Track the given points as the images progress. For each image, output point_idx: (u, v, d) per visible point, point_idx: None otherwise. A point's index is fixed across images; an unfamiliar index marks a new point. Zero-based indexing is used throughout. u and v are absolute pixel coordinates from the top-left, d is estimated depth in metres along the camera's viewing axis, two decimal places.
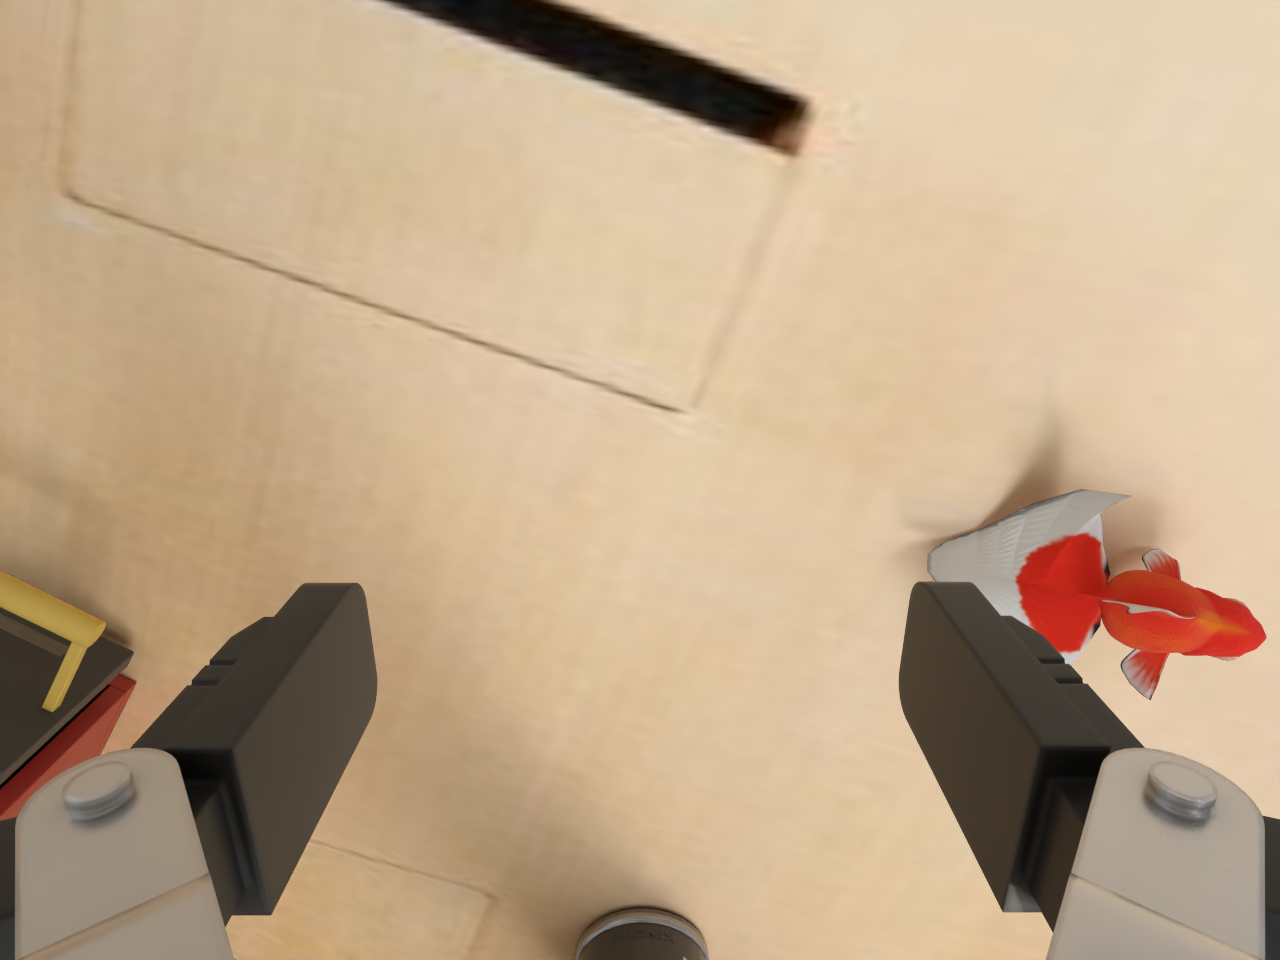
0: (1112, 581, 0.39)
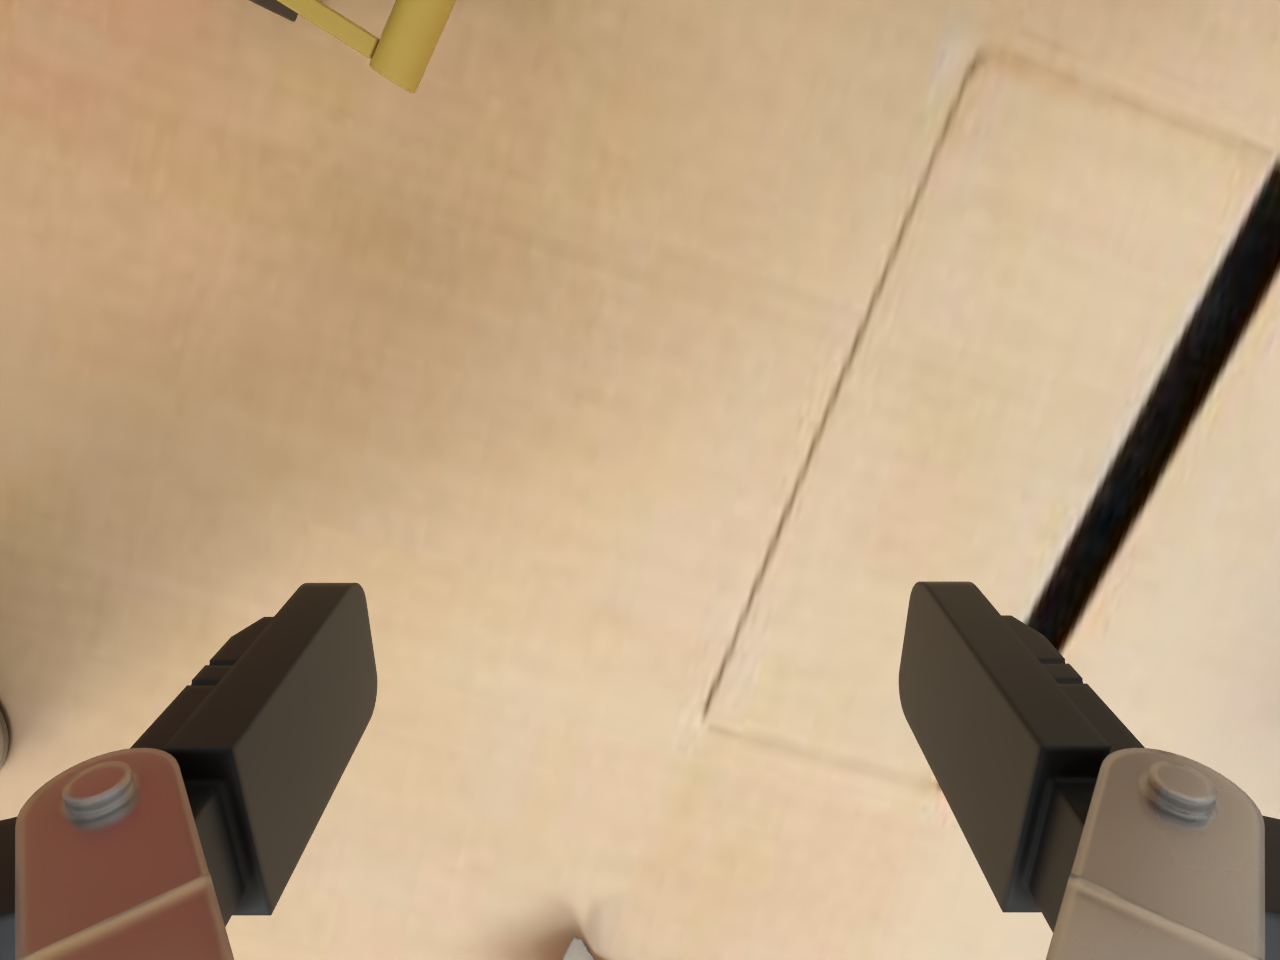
0: None
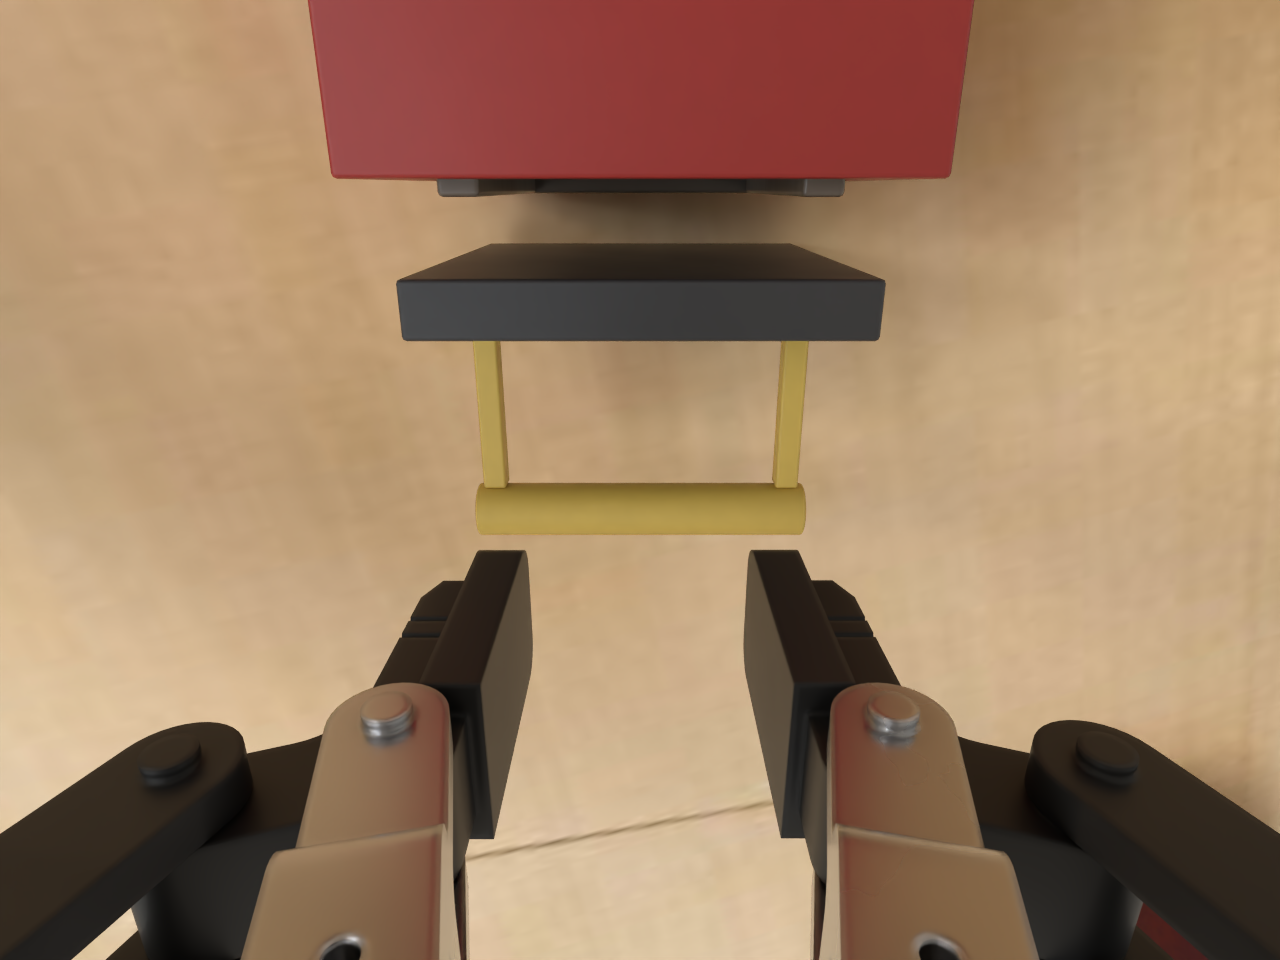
0: None
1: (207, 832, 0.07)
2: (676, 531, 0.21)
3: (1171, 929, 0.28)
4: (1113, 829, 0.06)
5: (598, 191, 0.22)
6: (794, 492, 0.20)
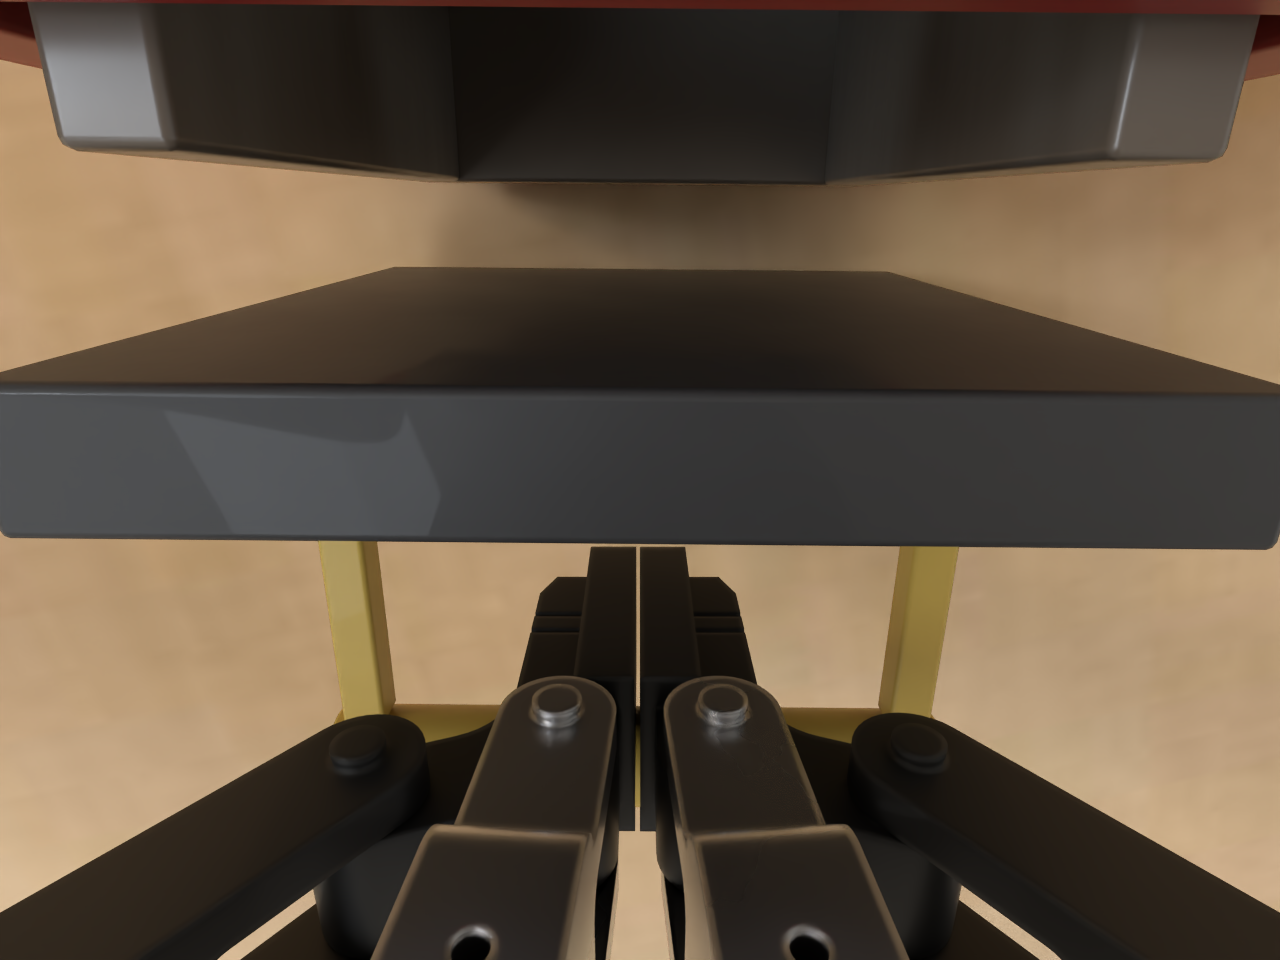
0: None
1: (380, 831, 0.07)
2: None
3: None
4: (936, 824, 0.07)
5: (569, 180, 0.13)
6: None
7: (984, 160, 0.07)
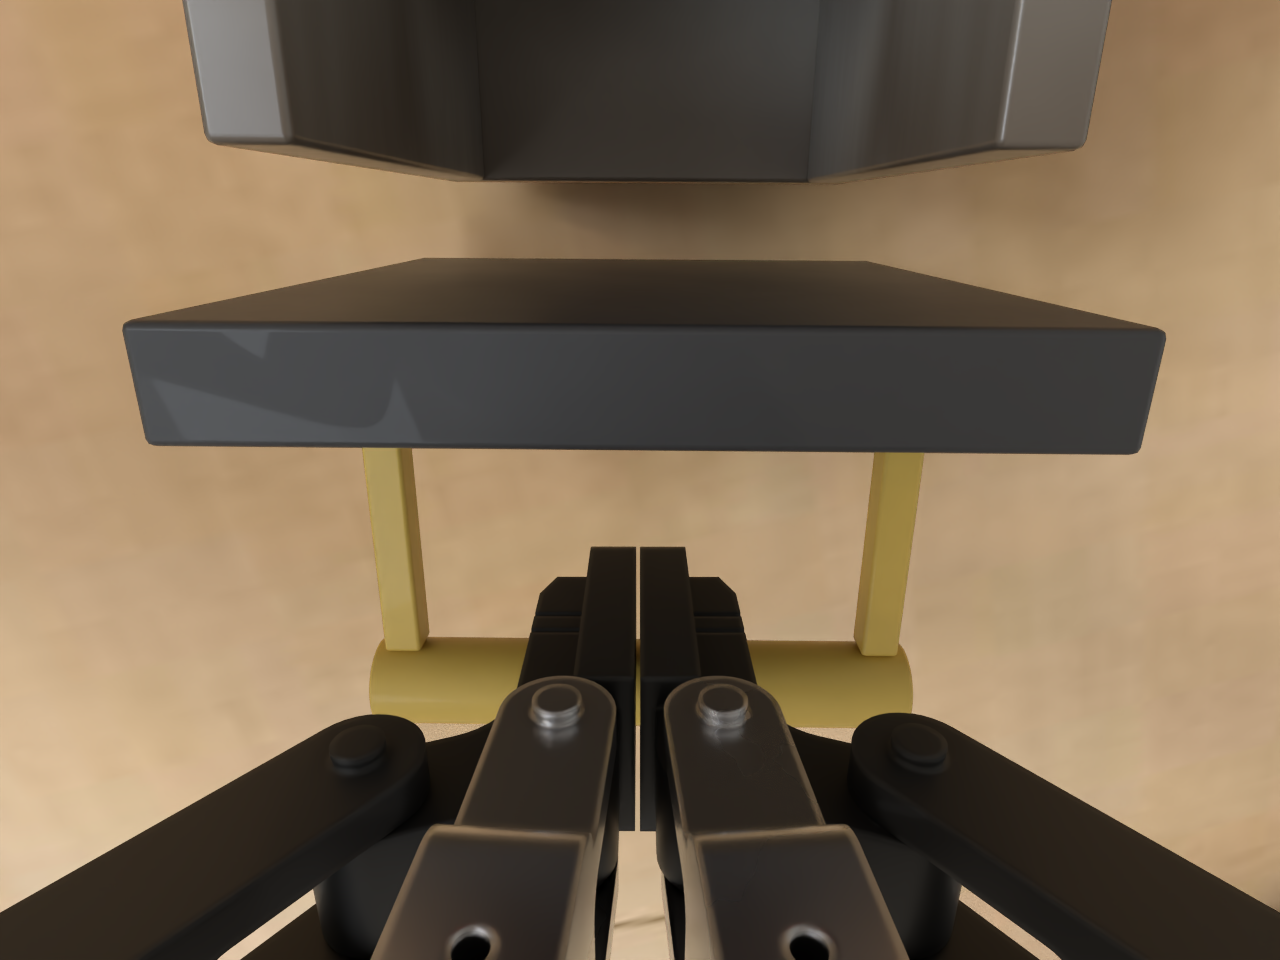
0: None
1: (380, 832, 0.07)
2: None
3: None
4: (936, 823, 0.07)
5: (580, 179, 0.15)
6: (892, 664, 0.12)
7: (920, 153, 0.08)
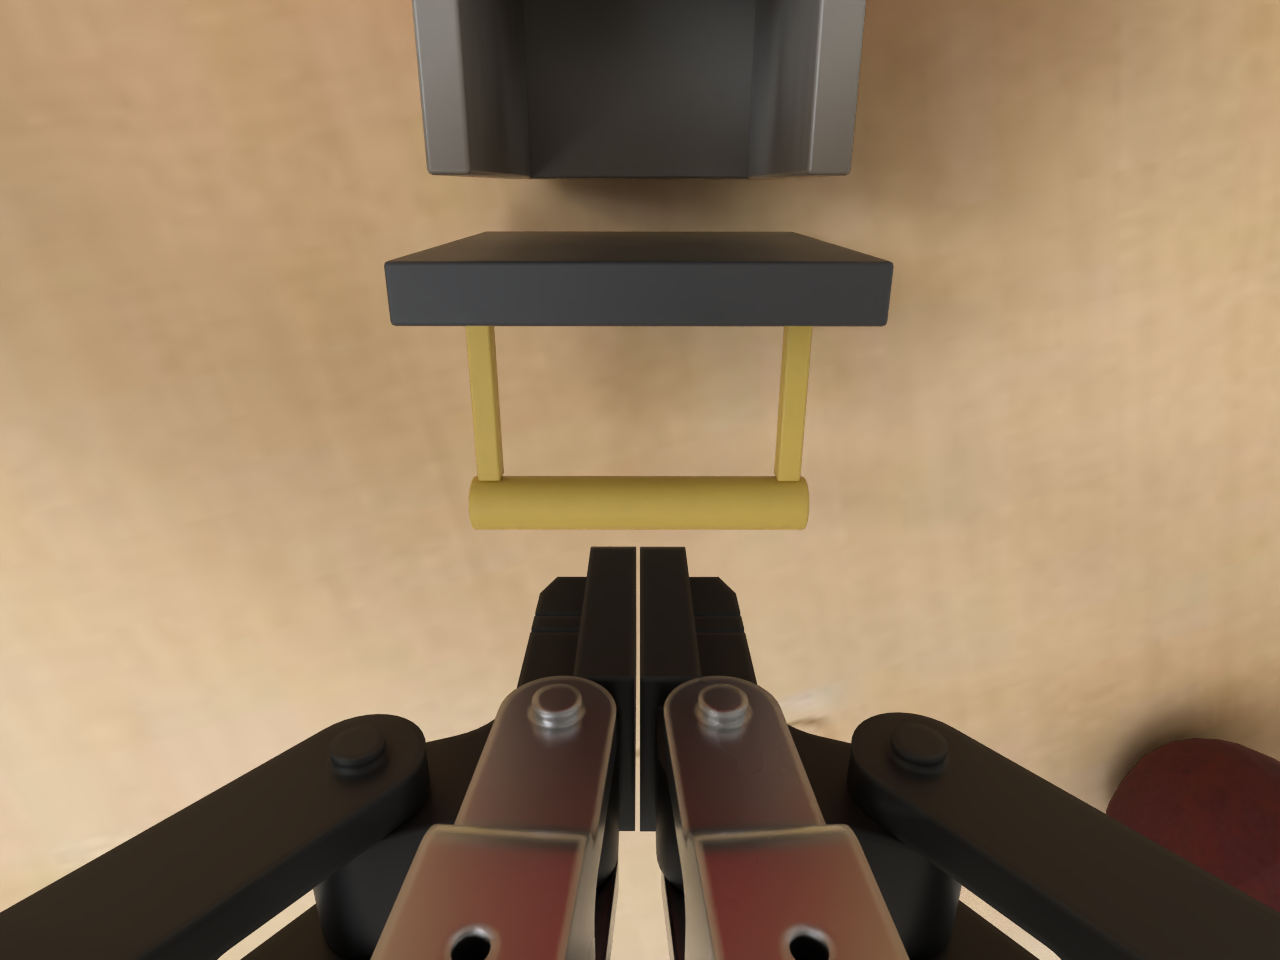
0: None
1: (380, 832, 0.07)
2: (675, 526, 0.20)
3: (1214, 847, 0.26)
4: (936, 823, 0.07)
5: (595, 177, 0.22)
6: (797, 485, 0.20)
7: (788, 171, 0.16)
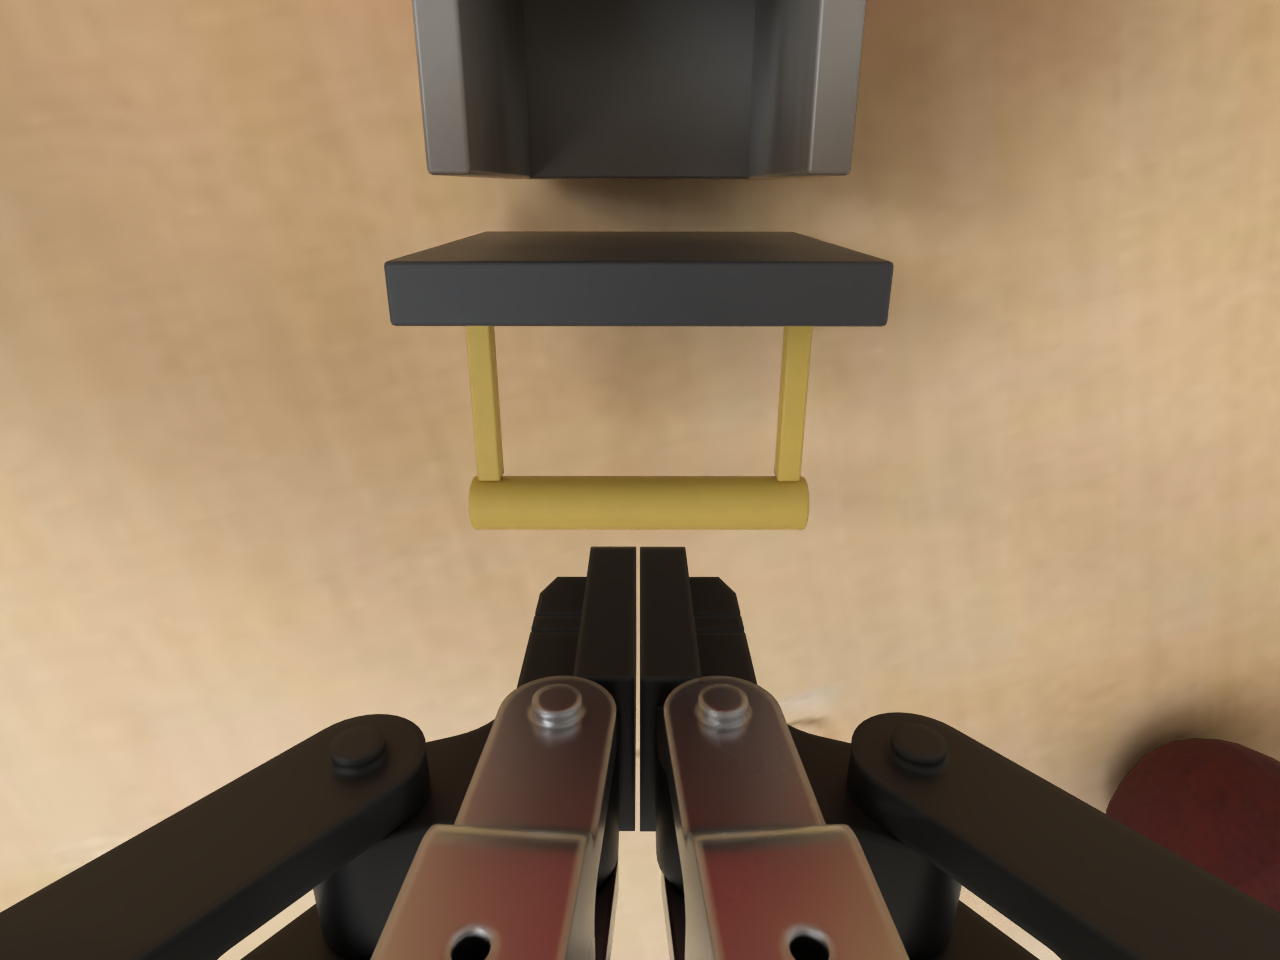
0: None
1: (380, 832, 0.07)
2: (675, 526, 0.20)
3: (1214, 847, 0.26)
4: (936, 823, 0.07)
5: (595, 177, 0.22)
6: (797, 485, 0.20)
7: (788, 171, 0.16)
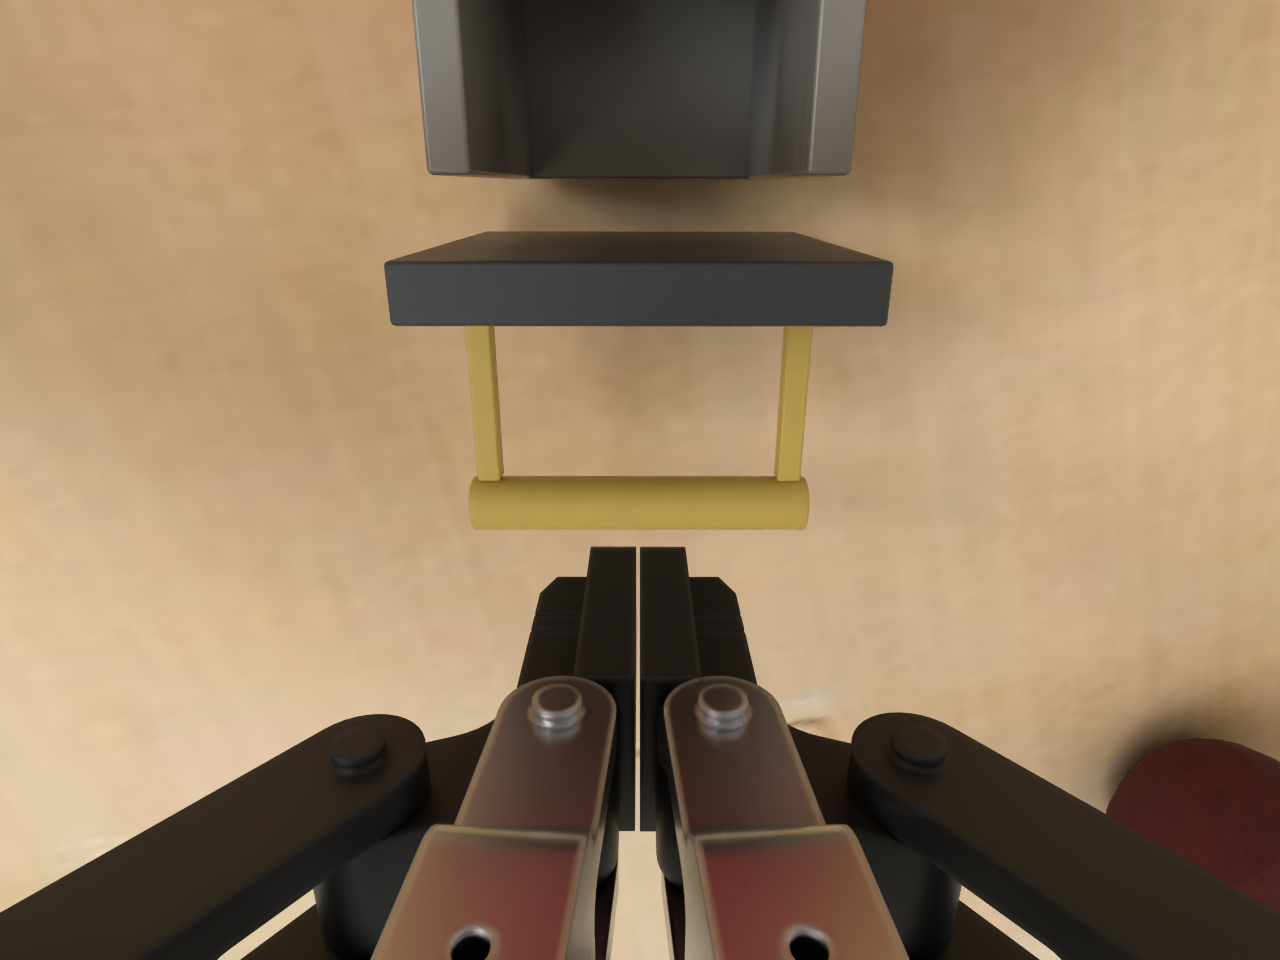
0: None
1: (380, 832, 0.07)
2: (675, 526, 0.20)
3: (1214, 847, 0.26)
4: (936, 823, 0.07)
5: (595, 177, 0.22)
6: (797, 485, 0.20)
7: (788, 171, 0.16)
